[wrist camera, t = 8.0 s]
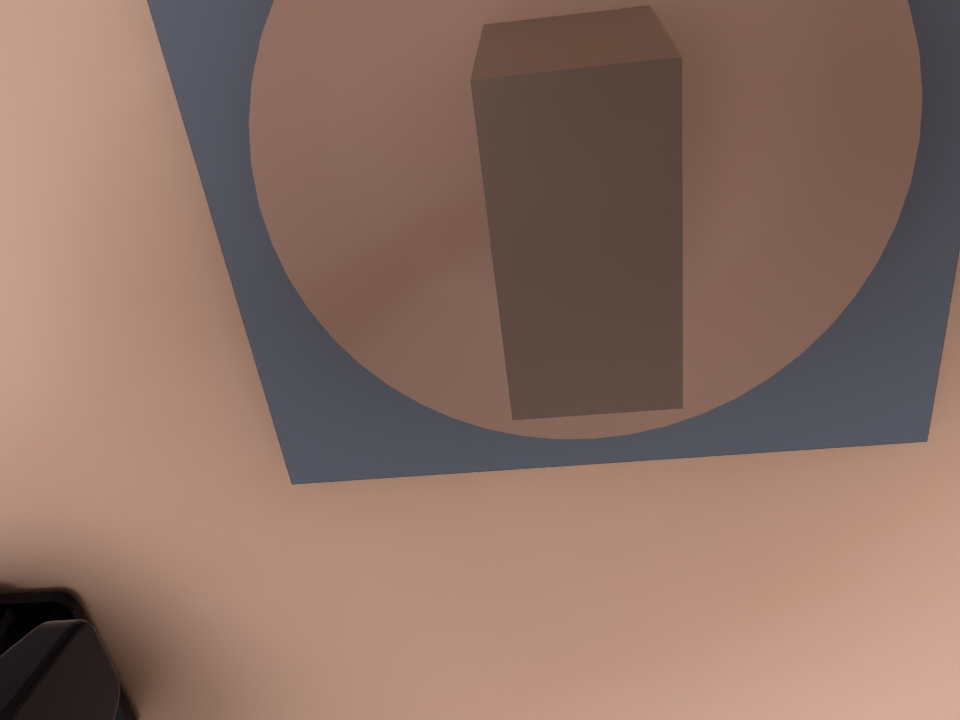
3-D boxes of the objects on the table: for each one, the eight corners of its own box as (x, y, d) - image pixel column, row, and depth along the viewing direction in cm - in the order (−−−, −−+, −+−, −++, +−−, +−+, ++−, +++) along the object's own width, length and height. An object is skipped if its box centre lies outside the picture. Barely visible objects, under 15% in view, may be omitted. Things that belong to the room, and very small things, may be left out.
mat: (918, 427, 22) (927, 441, 22) (296, 470, 24) (291, 484, 23) (1050, -398, 14) (1069, -406, 13) (88, -243, 16) (73, -246, 15)
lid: (867, 394, 21) (951, 541, 17) (333, 432, 22) (286, 577, 18) (950, -270, 14) (1126, -307, 10) (182, -161, 16) (53, -151, 11)
